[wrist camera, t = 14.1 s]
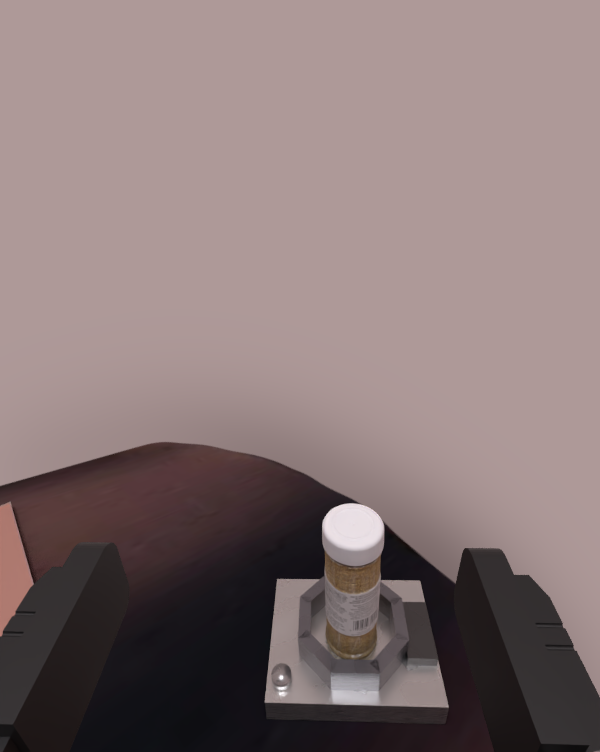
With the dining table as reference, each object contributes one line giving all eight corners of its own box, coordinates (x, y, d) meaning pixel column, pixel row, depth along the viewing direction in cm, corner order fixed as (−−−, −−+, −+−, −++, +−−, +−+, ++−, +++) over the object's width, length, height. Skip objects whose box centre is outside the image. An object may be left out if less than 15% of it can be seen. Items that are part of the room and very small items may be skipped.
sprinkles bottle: (366, 606, 41) (371, 496, 35) (385, 655, 37) (395, 540, 31) (318, 618, 40) (315, 506, 34) (332, 669, 36) (331, 553, 30)
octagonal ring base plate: (266, 719, 35) (262, 684, 33) (278, 594, 45) (275, 562, 43) (445, 724, 35) (452, 689, 32) (417, 596, 44) (422, 563, 42)
